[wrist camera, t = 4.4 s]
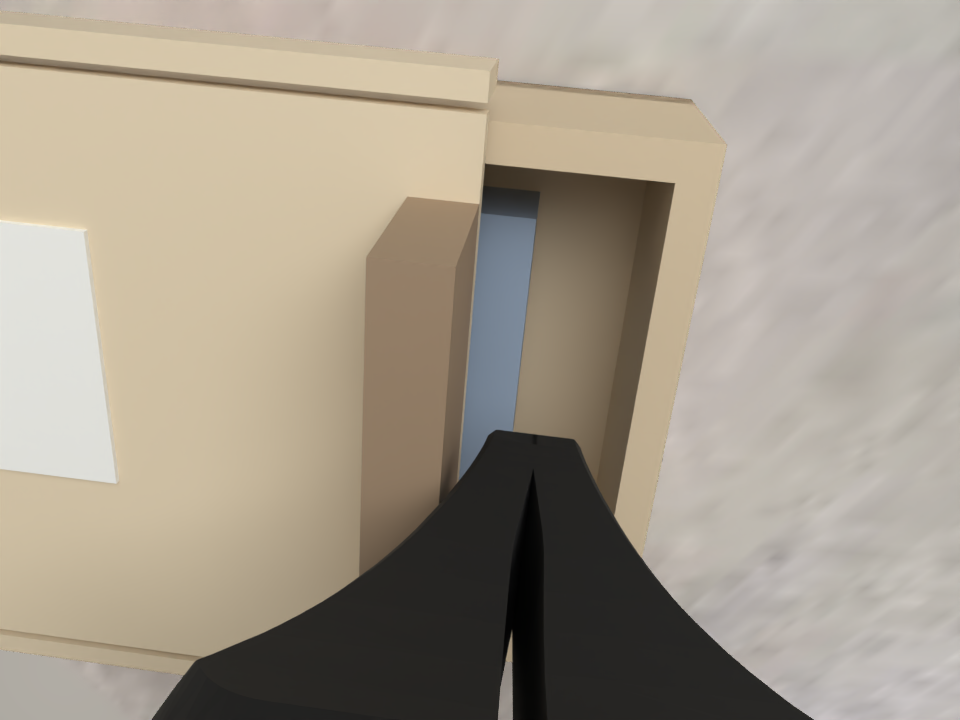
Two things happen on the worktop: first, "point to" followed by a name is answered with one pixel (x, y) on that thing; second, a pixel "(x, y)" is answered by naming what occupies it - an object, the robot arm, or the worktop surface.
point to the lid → (222, 328)
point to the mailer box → (576, 270)
